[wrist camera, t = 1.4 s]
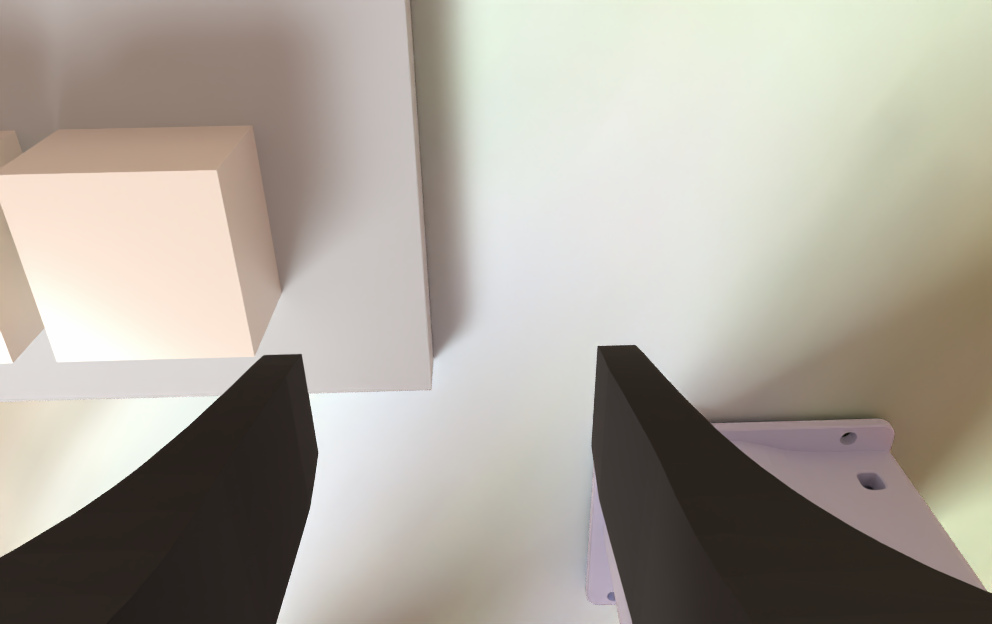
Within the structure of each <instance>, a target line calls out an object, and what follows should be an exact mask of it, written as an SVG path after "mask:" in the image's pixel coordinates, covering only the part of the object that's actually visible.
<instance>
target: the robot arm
mask: <svg viewBox="0 0 992 624" xmlns="http://www.w3.org/2000/svg"><path fill="white" fill-rule="evenodd" d="M849 432H850V434H849V435H847V436H846V437H842V435H844V434H845V433H849ZM894 437H895V431H894V429H893V428H892V426H891V425H890V423H889V422H888V421H886V420H884V419H846V420H811V421H776V422H740V423H710V422H709V421H708V420H706V419H705V418H704V417H703V416H702V415H701V414H700V413H699V412H698V411H697V410H696V409H695V408H694V407H693V406H692V405H691V404H690V403H689V402H688V401H687V400H686V399H685V398H684V397H683V396H682V395H681V394H680V393H679V391H678V390H677V389H676V388H675V387H674V386H673V385H672V384H671V383H670V382H669V381H668V380H667V379H666V378H665V376H664V375H663V374H662V373H661V372H660V371H659V370H658V369H657V368H656V367H655V365H654V364H653V363H652V362H651V361H650V360H649V359H648V358H647V357H646V355H645V354H644V353H643V352H642V351H641V350H640V349H639V348H638V347H637V346H636V345H619V346H598V349H597V365H596V381H595V397H594V413H593V429H592V453H593V460H594V464H593V479H592V495H591V510H590V526H589V541H588V557H587V572H586V588H585V590H586V596H587V600H588V601H589V602H591V603H593V604H596V605H612V604H616V606H617V611H618V616H619V621H620V624H992V593H990V592H987V590H986V589H985V587H984V586H983V584H982V582H981V581H980V580H979V578H978V577H977V575H976V574H975V572H974V571H973V570H972V568H971V567H970V565H969V564H968V562H967V561H966V560H965V558H964V557H963V555H962V554H961V552H960V551H959V550H958V548H957V547H956V545H955V544H954V542H953V541H952V540H951V538H950V537H949V535H948V534H947V532H946V531H945V530H944V528H943V527H942V525H941V524H940V522H939V521H938V520H937V518H936V517H935V515H934V514H933V512H932V511H931V510H930V508H929V507H928V505H927V504H926V502H925V501H924V500H923V498H922V497H921V495H920V494H919V492H918V491H917V490H916V488H915V487H914V485H913V484H912V482H911V481H910V480H909V478H908V477H907V475H906V474H905V472H904V471H903V470H902V468H901V467H900V465H899V464H898V462H897V461H896V460H895V458H894V457H893V455H892V454H891V452H890V450H891V447H892V443H893V440H894ZM317 459H318V448H317V442H316V436H315V430H314V424H313V418H312V412H311V406H310V400H309V394H308V388H307V382H306V376H305V370H304V364H303V358H302V354H280V355H263V356H262V357H261V358H260V359H259V360H258V361H256V362H255V363H254V364H253V365H252V366H251V367H250V368H249V369H248V370H247V371H246V372H245V373H244V374H243V375H242V376H241V377H240V378H239V379H238V380H237V381H236V382H235V383H234V384H233V385H232V386H231V387H230V388H229V389H228V390H226V391H225V392H224V393H223V394H222V395H221V396H220V397H219V398H218V399H217V400H216V401H215V402H214V403H213V404H212V405H211V406H210V407H208V408H207V409H206V410H205V411H204V412H203V413H202V414H201V415H200V416H199V417H198V418H197V419H196V420H195V421H193V422H192V423H191V424H190V425H189V426H188V427H187V428H186V429H185V430H183V431H182V432H181V433H180V434H179V435H177V436H176V437H175V438H174V439H173V440H171V441H170V442H169V443H168V444H167V445H166V446H164V447H163V448H162V449H161V450H160V451H158V452H157V453H156V454H155V455H154V456H152V457H151V458H150V459H149V460H148V461H147V462H145V463H144V464H143V465H142V466H140V467H139V468H138V469H137V470H135V471H134V472H133V473H131V474H130V475H129V476H127V477H126V478H125V479H123V480H122V481H121V482H119V483H118V484H117V485H115V486H114V487H112V488H111V489H110V490H108V491H107V492H105V493H104V494H102V495H101V496H100V497H98V498H97V499H95V500H94V501H92V502H91V503H89V504H88V505H87V506H85V507H84V508H82V509H81V510H79V511H78V512H76V513H74V514H73V515H71V516H70V517H68V518H66V519H65V520H63V521H61V522H60V523H58V524H56V525H55V526H53V527H51V528H50V529H48V530H46V531H45V532H43V533H41V534H40V535H38V536H36V537H35V538H33V539H32V540H30V541H28V542H27V543H25V544H23V545H22V546H20V547H18V548H17V549H15V550H13V551H11V552H10V553H8V554H6V555H4V556H2V557H0V624H276V622H277V619H278V615H279V612H280V609H281V605H282V602H283V598H284V595H285V592H286V588H287V585H288V582H289V578H290V575H291V572H292V568H293V565H294V562H295V558H296V555H297V551H298V548H299V545H300V541H301V538H302V534H303V531H304V527H305V524H306V520H307V517H308V513H309V510H310V505H311V499H312V492H313V486H314V480H315V473H316V466H317ZM612 591H614V592H612Z"/></svg>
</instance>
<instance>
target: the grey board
mask: <svg viewBox="0 0 992 624" xmlns="http://www.w3.org/2000/svg"><path fill="white" fill-rule="evenodd" d="M244 125H253V131H254V137H255V142H256V148H257V154H258V160H259V166H260V171H261V177H262V183H263V189H264V194H265V200H266V206H267V212H268V217H269V223H270V229H271V235H272V240H273V246H274V252H275V258H276V263H277V269H278V275H279V281H280V287H281V292H282V294H281V296H280V299H279V301H278V303H277V306H276V308H275V310H274V313H273V315H272V317H271V320H270V322H269V324H268V327H267V329H266V331H265V334H264V336H263V338H262V341H261V343H260V345H259V348H258V350H257V352H256V355H255V357H228V358H191V359H153V360H116V361H78V362H57V360H56V358H55V355H54V352H53V349H52V346H51V344H50V341H49V338H48V335H47V332H46V330H45V328H44V329H43V330H42V331H41V333H40V334H39V335H38V336H37V337H36V338H35V339H34V340H33V341H32V343H31V344H30V345H29V346H28V347H27V348H26V349H25V350H24V352H23V353H22V354H21V355H20V356H19V357H18V358H17V359H16V360H15V362H14V363H3V364H0V402H13V401H50V400H86V399H122V398H159V397H195V396H221V395H222V394H223V393H224V392H225V391H226V390H228V389H229V388H230V387H231V386H232V385H233V384H234V383H235V382H236V381H237V380H238V379H239V378H240V377H241V376H242V375H243V374H244V373H245V372H246V371H247V370H248V369H249V368H250V367H251V366H252V365H253V364H254V363H255V362H256V361H258V360H259V359H260V358H261V357H262V356H263V355H280V354H302V358H303V364H304V370H305V376H306V382H307V388H308V393H341V392H378V391H414V390H431V387H432V374H433V346H432V330H431V315H430V300H429V284H428V269H427V253H426V238H425V222H424V207H423V192H422V176H421V161H420V145H419V130H418V114H417V99H416V84H415V68H414V53H413V37H412V22H411V7H410V0H0V131H12V130H15V132H16V135H17V138H18V141H19V144H20V147H21V150H22V153H24V152H26V151H27V150H29V149H30V148H32V147H33V146H35V145H36V144H38V143H39V142H41V141H42V140H43V139H45V138H46V137H48V136H49V135H51V134H52V133H54V132H55V131H57V130H58V129H105V128H151V127H197V126H244Z"/></svg>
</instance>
